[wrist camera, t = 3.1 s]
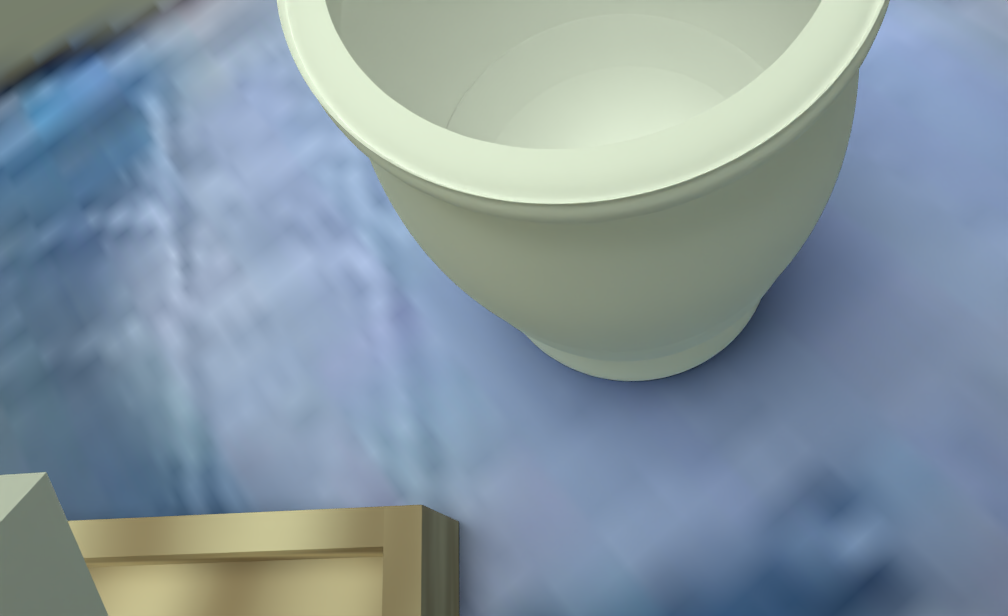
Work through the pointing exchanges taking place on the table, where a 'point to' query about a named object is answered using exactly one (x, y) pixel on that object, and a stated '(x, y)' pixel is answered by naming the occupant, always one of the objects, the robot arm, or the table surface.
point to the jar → (598, 153)
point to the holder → (276, 563)
